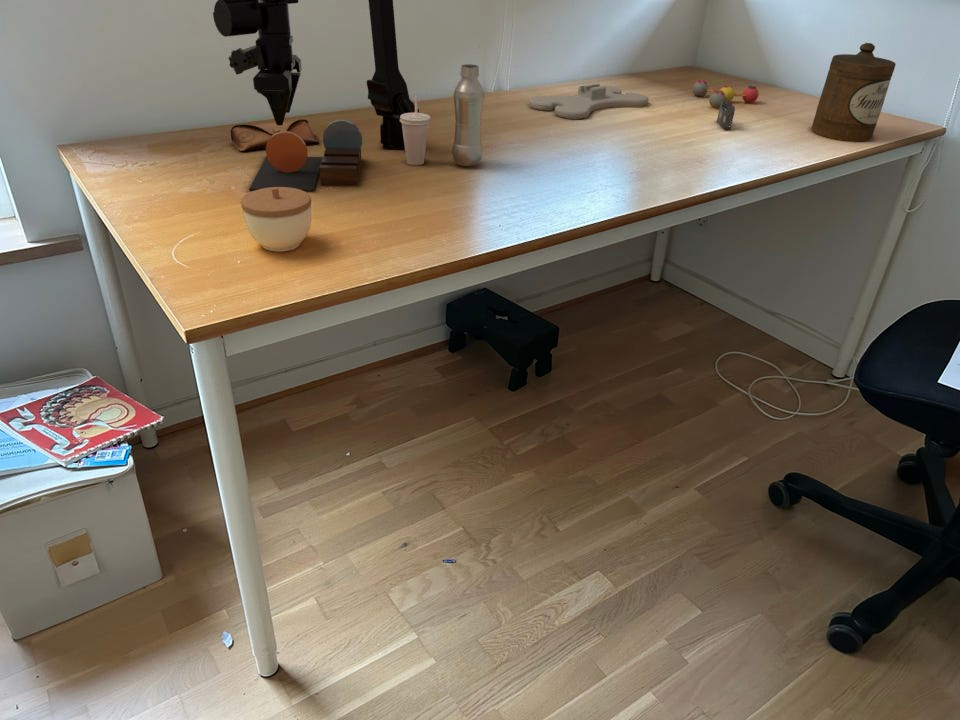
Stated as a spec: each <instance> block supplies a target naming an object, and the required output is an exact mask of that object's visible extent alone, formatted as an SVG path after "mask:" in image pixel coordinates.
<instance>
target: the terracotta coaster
mask: <svg viewBox="0 0 960 720" xmlns="http://www.w3.org/2000/svg"><path fill="white" fill-rule="evenodd" d="M265 155H266V156H267V158H268V160H269V162H270V163H271V165H272V166H273V167H275V168H276V169H277V170H279V171H282V172H286V173H292V172H296V171H298V170H300V169H301V168H302V167H303V166H304V164H305V163H306V160H307V157H309V150H308V146H307V144H305V142H304V141H303V139H302V138H301V137H300V136H298V135H297V134H295V133H293V132H289V131H281V132H277V133H275V134H274V135H273V136H272V137H271V138H270V139H269V141H268V143H267V145H266V149H265Z"/></svg>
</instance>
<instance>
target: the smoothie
mask: <svg viewBox="0 0 960 720" xmlns="http://www.w3.org/2000/svg"><path fill="white" fill-rule="evenodd" d="M418 97H419V96H418V95H417V94H415V95H414V105H415V113H405V114H402V115H401V116H400V122H401V123H402V130H403V137H404V145H405V149H404V151H405V159H406V163H407V164H408V165H411V166H420V165H421V166H422V165H424V163H425V157H426V150H427V143H428V142H427V141H428V133H429V125H430V123H431V116H430V115H429V114H427V113H422V112H419V113H418V109H419V108H418V99H419V98H418Z"/></svg>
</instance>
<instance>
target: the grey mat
mask: <svg viewBox="0 0 960 720" xmlns="http://www.w3.org/2000/svg"><path fill="white" fill-rule="evenodd" d="M322 158H323V156H308V157H307V160H306V163H305V164H304V166H303V167H302V168H301V169H300V170H298V171H296V172H292V173H286V172H282V171H279V170H277V169H276V168H275V167H273V166H272V165H271V163H270V162H269V160H268V158H267V155H266V156H265V158H264V160H263V162H262V164H261V166H260V167H259V169H258V170H257V173H256V174H255V176H254V179H253V181H252V183H251V184H250V186H249V188H248V191H250V192H252V191H255V190H258V189H263V188H270V187H289V188H296V189H300V190H303V191H305V192H314V191H315V188H316V185H317V182H318V179H319V177H320V169H319V168H320V165H321V161H322Z"/></svg>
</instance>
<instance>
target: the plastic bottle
mask: <svg viewBox="0 0 960 720" xmlns="http://www.w3.org/2000/svg"><path fill="white" fill-rule="evenodd" d="M479 72H480V69H479V65H477V64H472V63H469V64H467V63H466V64H461V65H460V72H459V76H460V80H459V81H458V82H457V84H456V86H455V87H454V90H453V92H452V94H453V97H452V98H453V104H454V105H453V106H454V116H455V117H454V118H455V119H454V120H455V129H454V139H453V144H452V149H451V154H452V155H451V156H452V160H453V161H454V163H455V164H456V165H459V166H463V167H473V166H476V165H479V163H480V162H481V161H482V157H483V143H482V134H481V125H482V124H481V123H482V122H481V121H482V112H483V107H484V100H485V89H484V88H483V86H482V84H481V82H480V80H479V79H478V78H479V76H480V73H479Z"/></svg>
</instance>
